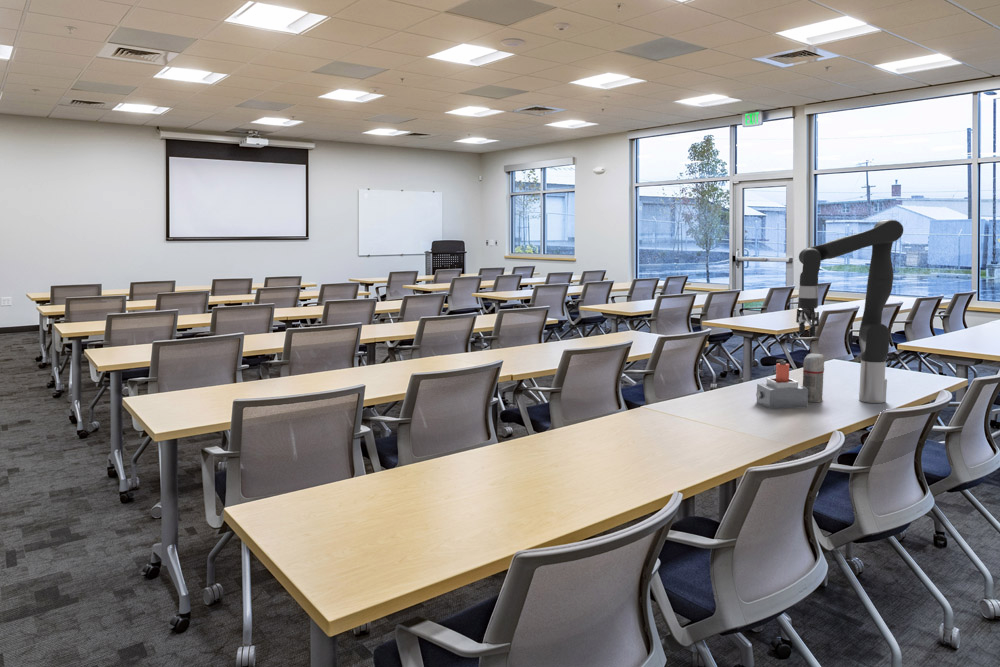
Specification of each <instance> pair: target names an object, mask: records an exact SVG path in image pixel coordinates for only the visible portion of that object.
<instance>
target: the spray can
mask: <svg viewBox="0 0 1000 667" xmlns="http://www.w3.org/2000/svg"><path fill="white" fill-rule="evenodd" d="M825 357H826V356H824V354H822V353H811V352H810V353H808V354H806V356H805V357H804V359H803V364H802V368H803V369H802V370H803V371H802V373H803V374H802V375H803V376H802V386H804V387H806V388H808V402H809V403H821V402H822V401H824V399H823V390H824V372H825V361H826V359H825ZM808 402H807V403H808Z"/></svg>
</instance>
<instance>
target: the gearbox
mask: <svg viewBox="0 0 1000 667" xmlns="http://www.w3.org/2000/svg"><path fill="white" fill-rule="evenodd" d="M755 394H756V395H755V397H756V403H757V404H759V405H761V406H762V407H764V408H766V409H768V410H781V409H782V410H783V409H804V408H805V409H806V408H808V388H806V387H804V386H803V385H801V384H799V381H797V380H795V379H792V378H790V377H789V382H776V377H772V378H771V377H769V378H766V382H765V383H756V393H755Z"/></svg>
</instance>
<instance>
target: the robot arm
mask: <svg viewBox="0 0 1000 667" xmlns="http://www.w3.org/2000/svg"><path fill="white" fill-rule="evenodd" d="M903 234H904V226H903V224H902V223H901V222H900V221H899V220H898V221H897V220H896V219H882V220H879V221H878V222H876V223H875V224H874V226H873V228H872V229H868V230H865V231H862V232H859V233H855V234H850V235H847V236H843V237H838V238H836V239H833V240H829V241H828V242H825V243H822V244H818V245H813V246H810V247H807V248H804V249H802V250H801V251H800V252H799V255H798V260H799V262H800V263H801V264H802V271H801V272H800V274H799V288H798V303H797V304H798V305H797V307H798V308H797V309H796V317H795V318H796V320H795V322H796V323H797V324H798V327H799V328H798V334H801V335H802V334H803V335H804V334H805V333H806V325H805V324H806V323H807V324H808V326H809V328H808V329H809V330H808V331H809V333H808V336H809V337H815V336H816V328H817V327H820V312H819V311H815V309H817V308H818V306H819V273H820V268H821V262H822V261H825V260H831V259H832V260H833V259H835V258H838V257H841V256H844V255H847V254H850V253H853V252H855V251H859V250H861V249H864V248H867V247H870V246H871V247H872V248H871V258H870V263H869V268H868V269H869V270H868V276H867V284H866V293H865V299H864V300H865V301H864V308H863V315H862V318H861V323H860V326H859V337H860V339H861V340H862V341H863V342H865V349H864V352H862V353H861V354H860V369H859V372H860V374H859V388H858V389H859V390H858V391H859V392H858V400H859V402H863V403H870V404H880V403H884V402H885V403H886V402H887V388H888V387H887V386H888V379H887V378H886V364H887V357H888V354H889V349H890V340H891V336H890V330H889V328H888V327H887V325H885V324H883V323H882V318H883V317H882V316H883V312H884V311H883V310H884V308H885V307H886V306H885V305H886V303H887V301H888V300H889V298H890V296H891V294H892V290H893V286H894V285H893V283H894V267H893V262H892V248H893V243H894V242H896V241H898V240H900V238H901V237H902V236H903Z"/></svg>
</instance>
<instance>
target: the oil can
mask: <svg viewBox="0 0 1000 667" xmlns="http://www.w3.org/2000/svg"><path fill="white" fill-rule="evenodd" d="M777 362H778V363H777ZM775 370H776V371H775V378H776V382H789V378H790V363H787V361H786V360H785V359H776V365H775Z"/></svg>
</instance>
